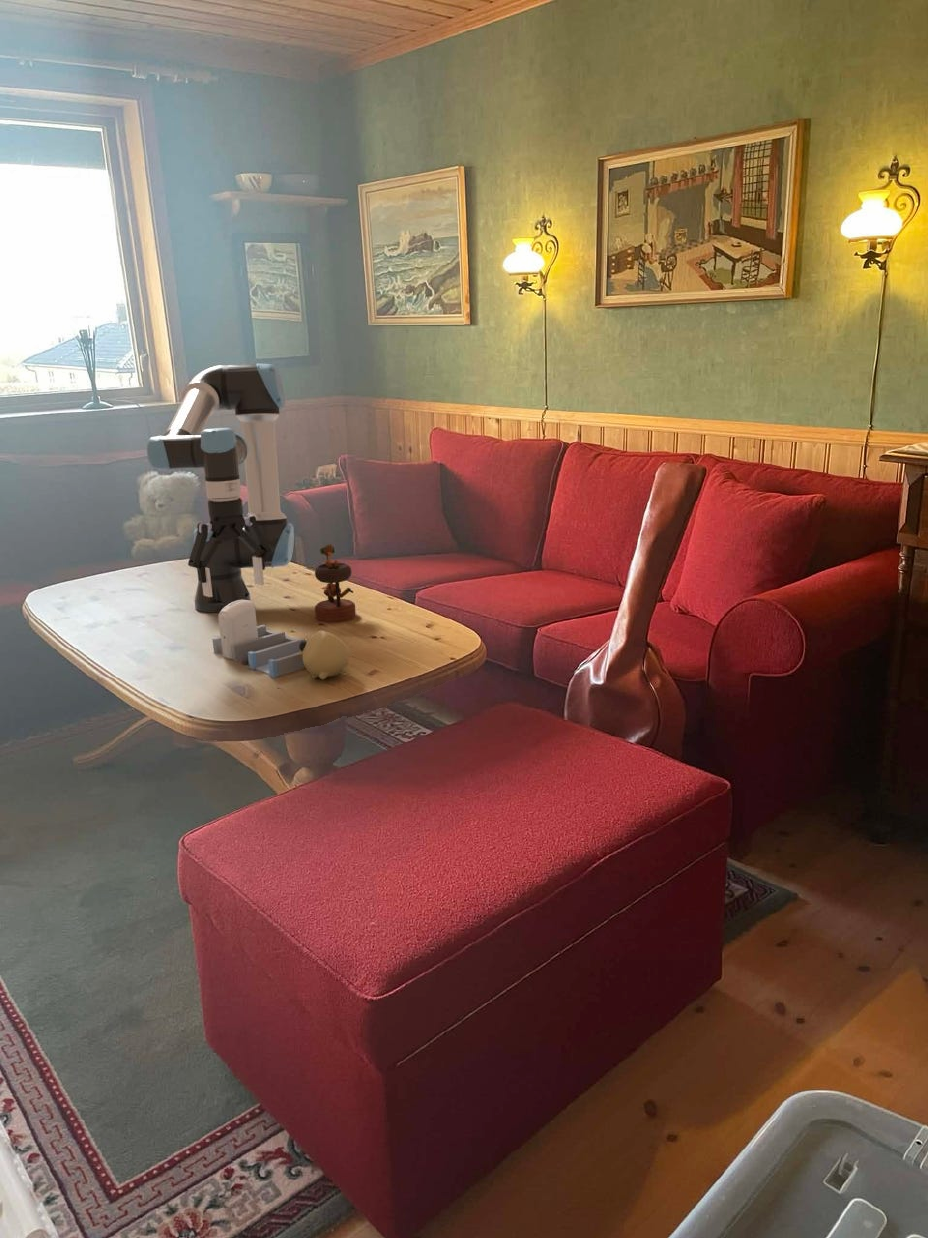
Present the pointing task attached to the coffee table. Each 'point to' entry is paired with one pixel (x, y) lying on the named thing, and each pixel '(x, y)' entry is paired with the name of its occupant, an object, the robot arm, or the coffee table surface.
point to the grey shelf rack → (267, 652)
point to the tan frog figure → (324, 655)
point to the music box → (334, 590)
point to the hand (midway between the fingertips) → (234, 590)
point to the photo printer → (237, 625)
